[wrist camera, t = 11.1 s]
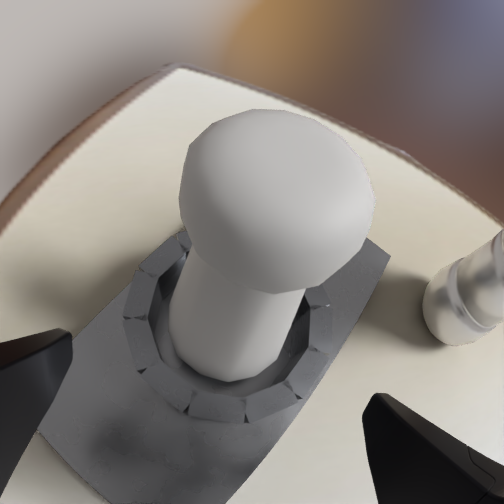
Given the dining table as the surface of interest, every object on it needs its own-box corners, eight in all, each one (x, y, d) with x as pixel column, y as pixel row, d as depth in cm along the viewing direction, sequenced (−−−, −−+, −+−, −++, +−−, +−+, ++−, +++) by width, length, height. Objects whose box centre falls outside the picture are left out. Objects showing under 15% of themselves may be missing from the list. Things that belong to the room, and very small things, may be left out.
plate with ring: (178, 541, 11) (175, 573, 7) (27, 403, 13) (-12, 395, 9) (381, 265, 23) (412, 234, 19) (260, 178, 25) (272, 136, 21)
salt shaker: (180, 394, 15) (142, 322, 4) (163, 294, 17) (138, 81, 6) (286, 372, 16) (462, 260, 5) (261, 280, 19) (351, 88, 8)
